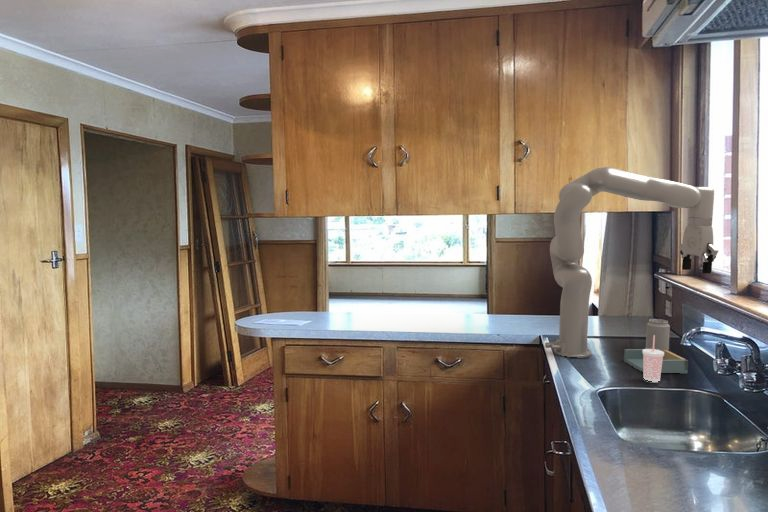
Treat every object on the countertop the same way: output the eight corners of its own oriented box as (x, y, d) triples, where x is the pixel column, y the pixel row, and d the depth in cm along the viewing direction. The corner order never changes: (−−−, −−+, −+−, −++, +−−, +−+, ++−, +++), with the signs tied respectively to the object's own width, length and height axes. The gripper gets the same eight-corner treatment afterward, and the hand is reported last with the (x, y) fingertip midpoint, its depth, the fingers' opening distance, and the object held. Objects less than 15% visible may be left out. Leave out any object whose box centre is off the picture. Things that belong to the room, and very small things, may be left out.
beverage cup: (636, 379, 180) (639, 334, 179) (647, 375, 184) (650, 331, 182) (655, 384, 175) (658, 338, 174) (666, 380, 179) (669, 335, 177)
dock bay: (644, 373, 185) (645, 361, 185) (623, 361, 199) (624, 349, 199) (687, 373, 186) (688, 360, 186) (663, 360, 200) (664, 348, 200)
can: (670, 356, 206) (672, 322, 205) (648, 355, 207) (649, 321, 206) (665, 350, 213) (667, 318, 212) (643, 349, 215) (644, 317, 213)
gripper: (673, 221, 211) (670, 268, 213) (709, 223, 194) (705, 275, 196) (691, 221, 213) (688, 268, 214) (728, 224, 196) (724, 274, 198)
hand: (696, 271), depth 205 cm, fingers open, 9 cm apart
